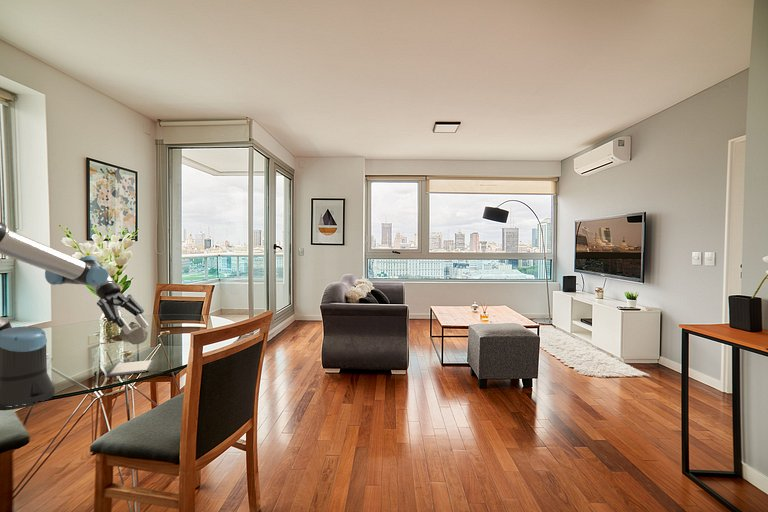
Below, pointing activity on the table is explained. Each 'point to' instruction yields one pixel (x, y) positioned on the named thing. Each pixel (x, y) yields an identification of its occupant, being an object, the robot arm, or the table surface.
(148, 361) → the linen sheet mat
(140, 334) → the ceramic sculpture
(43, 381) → the robot arm
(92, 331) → the table surface
